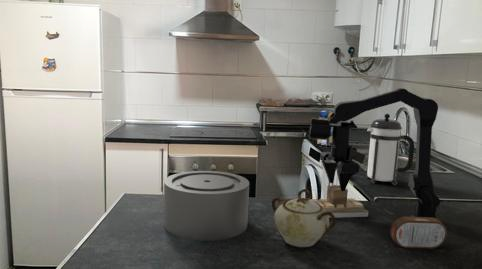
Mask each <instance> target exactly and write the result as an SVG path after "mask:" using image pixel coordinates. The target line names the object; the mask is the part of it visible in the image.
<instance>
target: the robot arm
mask: <svg viewBox="0 0 482 269" xmlns="http://www.w3.org/2000/svg"><path fill="white" fill-rule="evenodd" d="M399 102H401V103H403V104H404V105H407V106H409V107H410V108H413V115H414V120H415V123H416V147H415V148H416V150H415V167H414V170H413V173H408V180H409V181H408V183H407V185H408V187H409V189H410V191H411V192H412V193H413V194H414V196H415V198H416V201H415V208H414V214H413V215H410V217H429V218H436V217H437V210H438V207H439V206H440V204H441V202H442V201H441V198H439V197H438V196H437V195H436V194H435V189H434V187H435V186H434V182H433V177H432V174H431V159H432V158H431V154H432V136H433V135H432V134H433V126H434V124H435V121H436V119H437V115H438V111H439V105H438V103H437V102H436V101H435V100H434V99H432V98H427V97H421V96H419V95H416V94H415V93H413V92H410V91H409V90H408V89H406V88H402V87H398V88H396V89H394V90H391V91H387V92H384V93H381V94H377V95H374V96H373V95H372V96H371V97H366V98H363V99H359V100H358V99H357V100H347V101H340V102H337V103H336V104H335V105H334V108H333V111H334V112H333V113H332V114H331V115H330V117H329V118H328V119H327V120H325V119H319V118H316V117H311V119H310V120H311V121H310V126H309V137H308V139H309V140H310V139H311V140H318V139H322V140H327V138H329V137H330V135H331V127H333V133H332V142H329V146H331V147H330V148H331V149H330V151H322V152H321V153H319V155H320V156H319V160H320V161H321V164H322V166H323V168H324V169H323V170H324V172H325V174H326V176H327V179H328V182H329V184H334V180H335V176H336V174H337V178H338V184H339V185H340V188H341V191H345V189H347V186H348V185H349V182H350V180H351V178H352V177H353V176H354V175H357V174H359V173H360V172H361V165H360V164H363V163H364V160H366V157H367V155H366V154H364V153H362V152H360V151H358V148H357V147H354V146H353V145H352V144H351V133H352V132H351V130H352V129H358V126H357V124H355V122H354V120H353V119H354V118H356V117H358V116H359V115H361V114H363V113H365V112H368V111H370V110H371V111H372V110H375V109H379V108H382V107H385V106H389V105H394V104H396V103H399ZM336 123H337V124H336ZM338 123H339V124H338ZM436 219H437V218H436Z"/></svg>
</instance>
